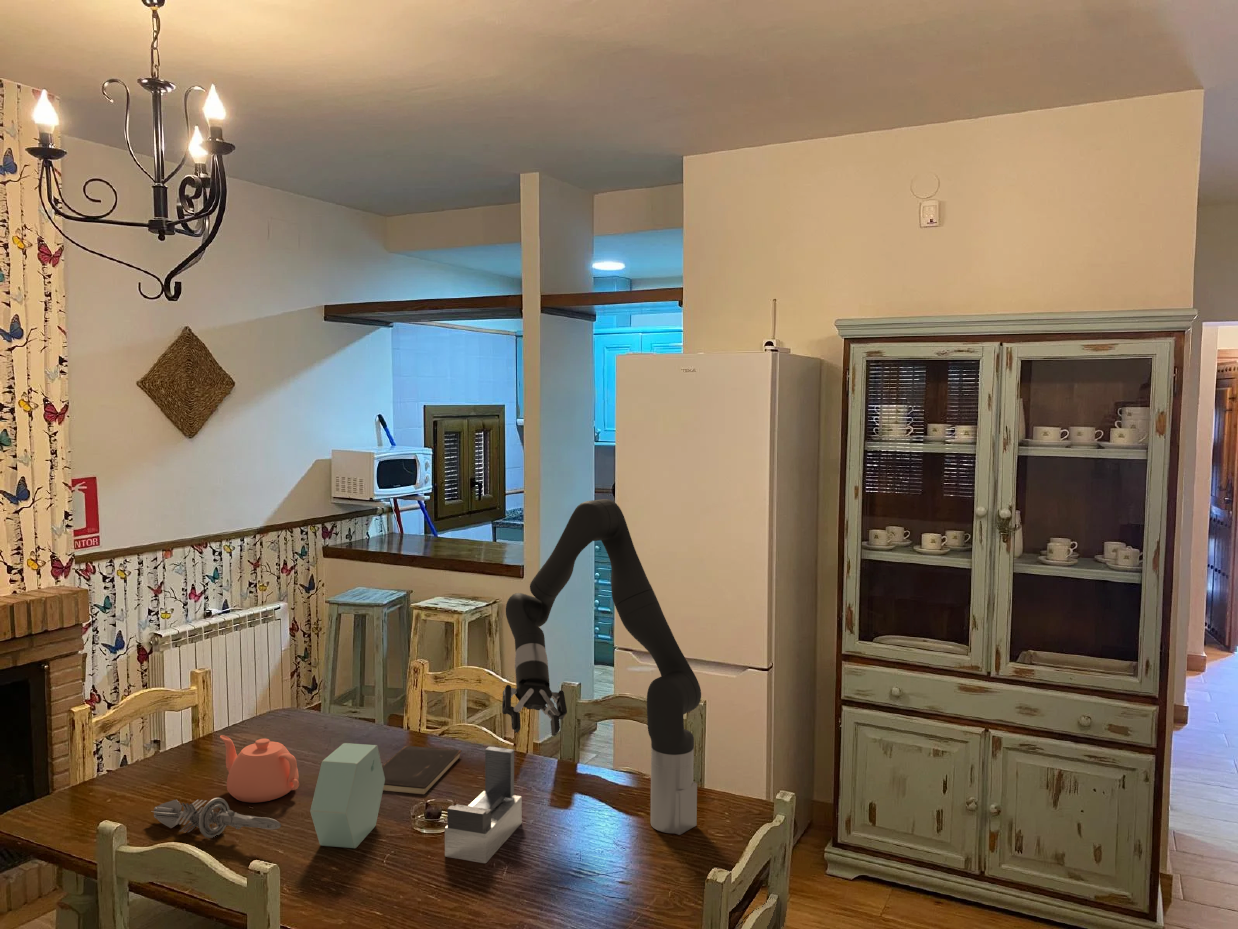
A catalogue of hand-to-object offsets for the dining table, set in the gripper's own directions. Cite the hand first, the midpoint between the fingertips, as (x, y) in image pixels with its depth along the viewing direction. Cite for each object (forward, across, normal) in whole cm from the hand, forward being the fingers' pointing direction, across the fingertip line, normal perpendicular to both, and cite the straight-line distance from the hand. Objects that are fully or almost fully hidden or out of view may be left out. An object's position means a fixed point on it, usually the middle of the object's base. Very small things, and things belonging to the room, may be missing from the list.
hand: (536, 732), depth 194 cm
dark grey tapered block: (+11, -7, +11) cm, 17 cm away
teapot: (-7, -52, +48) cm, 71 cm away
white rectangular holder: (+17, -8, +14) cm, 24 cm away
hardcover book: (-11, -17, +42) cm, 47 cm away
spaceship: (+10, -60, +36) cm, 70 cm away
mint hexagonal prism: (+12, -34, +26) cm, 44 cm away
